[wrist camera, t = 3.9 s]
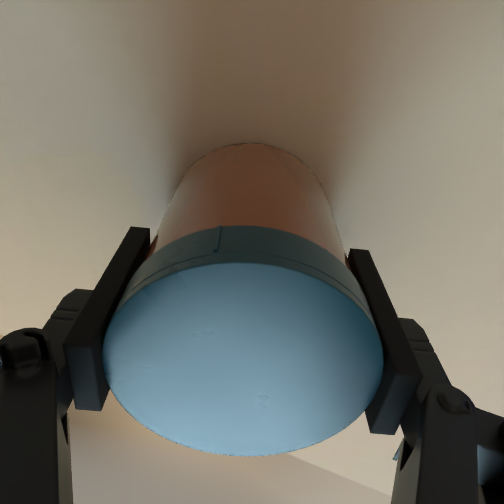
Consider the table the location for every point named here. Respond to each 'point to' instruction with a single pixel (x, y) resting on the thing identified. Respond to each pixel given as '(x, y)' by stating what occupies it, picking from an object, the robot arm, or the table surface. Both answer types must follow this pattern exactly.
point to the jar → (250, 198)
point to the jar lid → (243, 343)
